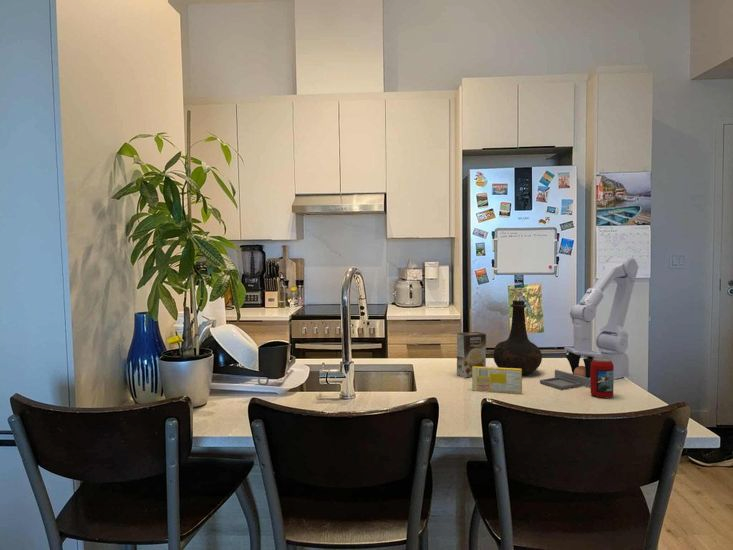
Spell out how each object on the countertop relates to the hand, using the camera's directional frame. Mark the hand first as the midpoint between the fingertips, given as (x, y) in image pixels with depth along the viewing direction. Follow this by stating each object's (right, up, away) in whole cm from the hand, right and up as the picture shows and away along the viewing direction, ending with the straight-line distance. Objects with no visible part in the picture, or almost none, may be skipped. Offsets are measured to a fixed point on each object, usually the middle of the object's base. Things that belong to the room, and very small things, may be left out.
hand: (582, 375), depth 186 cm
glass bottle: (-19, -2, +14) cm, 24 cm away
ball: (0, +1, 0) cm, 1 cm away
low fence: (-4, -2, -2) cm, 5 cm away
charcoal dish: (-9, -2, -4) cm, 11 cm away
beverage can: (-1, -3, -18) cm, 18 cm away
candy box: (-33, -3, -11) cm, 35 cm away
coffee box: (-37, -2, +11) cm, 39 cm away
